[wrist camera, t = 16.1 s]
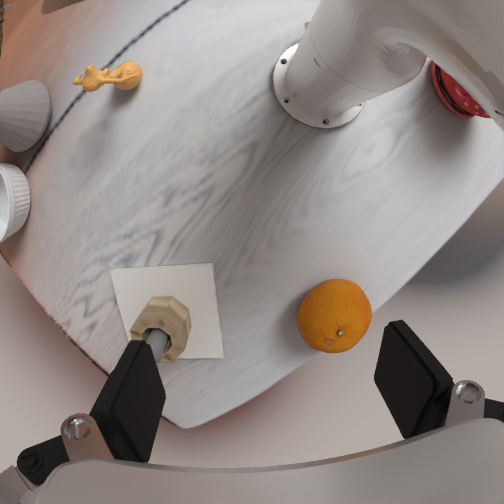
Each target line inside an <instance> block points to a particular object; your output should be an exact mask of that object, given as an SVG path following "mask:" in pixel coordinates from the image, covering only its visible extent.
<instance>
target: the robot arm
mask: <svg viewBox="0 0 504 504" xmlns="http://www.w3.org/2000/svg"><path fill="white" fill-rule="evenodd" d="M304 25H305V33H304V35H303V37H302V39H301V41H300V43H297V44H295V45H293V46H291V47H289V48H288V49H287V50H285V51H284V52H283V53H282V55H281V56H280V57H279V59H278V60H277V62H276V64H275V67H274V71H273V78H272V79H273V88H274V91H275V95H276V97H277V99H278V101H279V103H280V104H281V105H282V107H283V108H284V109H285V110H286V111H287V112H288V113H289V114H290V115H291V116H292V117H294V118H295V119H297V120H298V121H300V122H302V123H304V124H306V125H309V126H313V127H317V128H334V127H338V126H341V125H344V124H346V123H348V122H350V121H351V120H353V119H354V118H355V117H356V116H357V115H358V114H359V113H360V112H361V110H362V108H363V107H364V104H365V102H366V101H368V100H370V99H373V98H375V97H377V96H380V95H382V94H384V93H387V92H389V91H392V90H394V89H396V88H398V87H401V86H403V85H405V84H407V83H409V82H410V81H412V80H413V79H414V78H415V77H416V76H417V75H418V74H419V73H420V71H421V69H422V68H423V66H424V63H425V61H426V57H428V58H430V59H431V60H432V61H433V62H435V63H436V64H437V65H438V66H439V67H441V68H442V69H443V70H444V71H445V72H446V73H447V74H449V75H451V76H452V77H453V78H454V79H455V80H456V81H457V82H458V83H459V84H460V85H461V86H462V87H463V88H464V89H465V90H466V91H467V92H468V93H469V94H470V95H471V96H472V97H473V98H474V99H475V100H476V101H477V102H478V103H479V105H480V106H481V107H482V108H483V109H484V110H485V111H486V112H487V114H488V115H489V116H490V117H491V118H492V119H493V120H494V121H495V123H496V124H497V125H498V126H499V127H500V128H501V129H502V130H503V132H504V0H321V2H320V4H319V6H318V8H317V10H316V12H315V14H314V15H313V17H312V19H311V21H310V22H307V23H305V24H304ZM281 62H284V63H285V64H282V63H281ZM284 100H287V101H288V103H285V102H284ZM357 105H358V106H357ZM323 121H325V122H326V124H323ZM374 380H375V384H376V385H377V387H378V389H379V391H380V393H381V395H382V397H383V399H384V401H385V403H386V405H387V406H388V408H389V410H390V412H391V414H392V416H393V418H394V420H395V422H396V424H397V426H398V428H399V430H400V432H401V434H402V436H403V438H404V439H405V440H402V441H399V442H395V443H392V444H389V445H385V446H382V447H378V448H375V449H371V450H367V451H363V452H359V453H354V454H349V455H345V456H340V457H335V458H329V459H324V460H318V461H311V462H304V463H297V464H288V465H278V466H266V467H248V468H200V467H182V466H169V465H158V464H149V463H147V462H148V461H149V459H150V455H151V451H152V447H153V443H154V439H155V436H156V432H157V428H158V425H159V421H160V417H161V414H162V410H163V406H164V403H165V399H166V394H165V390H164V387H163V384H162V381H161V378H160V375H159V372H158V368H157V365H156V362H155V359H154V355H153V352H152V348H151V345H150V344H147V343H146V341H145V340H130V342H129V343H128V345H127V347H126V349H125V351H124V352H123V354H122V356H121V358H120V360H119V361H118V363H117V365H116V367H115V369H114V371H112V372H111V374H110V375H109V377H108V379H107V381H106V383H105V385H104V387H103V389H102V390H101V392H100V394H99V396H98V398H97V400H96V402H95V404H94V406H93V408H92V410H91V412H90V414H89V415H87V414H74V415H72V416H70V417H68V418H67V419H66V420H65V421H64V422H63V424H62V426H61V435H59V436H57V437H55V438H52V439H50V440H47V441H45V442H42V443H40V444H37V445H35V446H32V447H29V448H27V449H25V450H23V451H22V452H21V453H20V455H19V456H18V459H17V466H16V467H14V466H13V465H12V466H10V467H9V468H8V469H6V470H5V471H3V472H2V473H1V474H0V504H504V402H499V401H495V400H490V399H486V398H485V393H484V390H483V388H482V387H481V386H480V385H479V384H477V383H476V382H473V381H470V380H463V381H459V382H458V383H456V384H454V382H453V381H452V380H453V378H452V377H451V376H450V374H449V373H448V372H447V371H446V369H445V368H444V367H443V366H442V365H441V363H440V362H439V361H438V360H437V359H436V357H435V356H434V355H433V354H432V353H431V351H430V350H429V349H428V348H427V347H426V346H425V345H424V343H423V342H422V341H421V340H420V339H419V337H418V336H417V335H416V334H415V333H414V332H413V331H412V330H411V328H410V327H409V326H408V325H407V324H406V323H405V322H404V321H403V320H398V321H392V322H389V324H388V326H385V328H384V333H383V338H382V343H381V348H380V353H379V357H378V362H377V366H376V370H375V374H374Z"/></svg>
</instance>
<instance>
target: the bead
mask: <svg viewBox="0 0 504 504" xmlns="http://www.w3.org/2000/svg"><path fill="white" fill-rule="evenodd" d="M191 327H192V325H191V319H190V313H189V308H187V307H186V306H185V305H183V304H182V303H181V302H180V301H178V300H177V299H176V298H175V297H173V296H153V297H152V298H151V300H150V301H149V302H148V303H147V305H146V306H145V307H144V308H143V310H142V311H141V313H140V314H139V316H138V318H137V319H136V321H135V322H134V324H133V326H132V327H131V329H130V335H131V338H132V340H145V341H147V339H148V337H149V335H150V333H151V331H152V329H153V328H160V329H162V330H163V331H164V332H166V333H167V334H168V335H169V337H168V340H167V343H166V345H165V348H164V350H163V353H162V356H161V358H160V360H159V361H158V362H173V361H174V360H175V359H176V358H177V357H178V356H179V355H180V354H182V353H183V352H184V351H185V347H186V344H187V340H188V337H189V333H190V330H191Z"/></svg>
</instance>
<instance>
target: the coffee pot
mask: <svg viewBox="0 0 504 504" xmlns="http://www.w3.org/2000/svg"><path fill="white" fill-rule="evenodd" d="M9 5H11V6H9ZM9 5H6V6H9V7H7V8H10V7H12V6H13V4H9ZM6 6H1V7H0V55H1V45H2V36H3V32H2V23H3V21H4V18H3V14H4V9H7V8H4V7H6ZM51 106H52V103H51V96H50V93H49V91H48V89H47V87H46V86H45V85H44V84H43V83H42V82H40V81H38V80H29V81H26V82H23V83H20V84H17V85H14V86H12V87H9V88H7V89H4V90H2V91H1V90H0V143H1V144H3V145H4V146H5V147H7V148H8V149H10V150H11V151H14V152H22V151H25V150H27V149H29V148H30V147H32V146H33V145H34V144H35V143H36V142H37V141H38V140H39V139H40V138H41V136H42V135H43V133H44V132H45V129H46V127H47V125H48V122H49V119H50V115H51Z"/></svg>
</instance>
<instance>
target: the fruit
mask: <svg viewBox="0 0 504 504" xmlns="http://www.w3.org/2000/svg"><path fill="white" fill-rule="evenodd" d="M371 317H372V310H371V305H370V303H369V300H368V299H367V297H366V295H365V294H364V292H363V291H362V290H361V288H360V287H359V286H358V285H357V284H355V283H354V282H351V281H348V280H343V279H331V280H327V281H324V282H322V283H320V284H319V285H317V286H316V287H315V288H313V289H312V290H311V291H310V292H309V293H308V294H307V295H306V297H305V298H304V299H303V301H302V303H301V304H300V307H299V310H298V328H299V331H300V334H301V336H302V337H303V339H304V340H305V342H306V343H307V344H308V345H309V346H310V347H312V348H314V349H316V350H319V351H323V352H327V353H339V352H344V351H347V350H349V349H351V348H352V347H353V346H355V345H356V344H357V343H358V342H359V341H360V339H361V338H362V337H363V336H364V335H365V333H366V331H367V330H368V327H369V325H370V322H371Z"/></svg>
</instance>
